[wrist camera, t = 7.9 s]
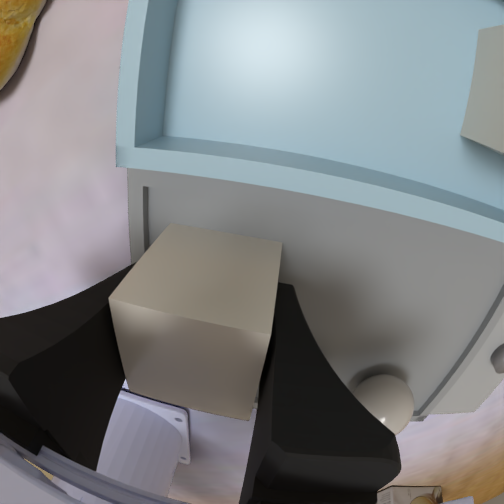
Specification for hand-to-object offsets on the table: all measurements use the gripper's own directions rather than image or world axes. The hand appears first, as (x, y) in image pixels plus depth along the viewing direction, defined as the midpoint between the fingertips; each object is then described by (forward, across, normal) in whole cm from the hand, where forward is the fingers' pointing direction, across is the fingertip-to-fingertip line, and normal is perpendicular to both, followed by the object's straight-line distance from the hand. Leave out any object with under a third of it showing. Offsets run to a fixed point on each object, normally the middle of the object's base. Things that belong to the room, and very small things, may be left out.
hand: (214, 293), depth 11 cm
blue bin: (+1, -4, -9) cm, 10 cm away
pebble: (+1, -8, +4) cm, 9 cm away
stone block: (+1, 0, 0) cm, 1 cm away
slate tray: (+1, -7, +2) cm, 7 cm away
